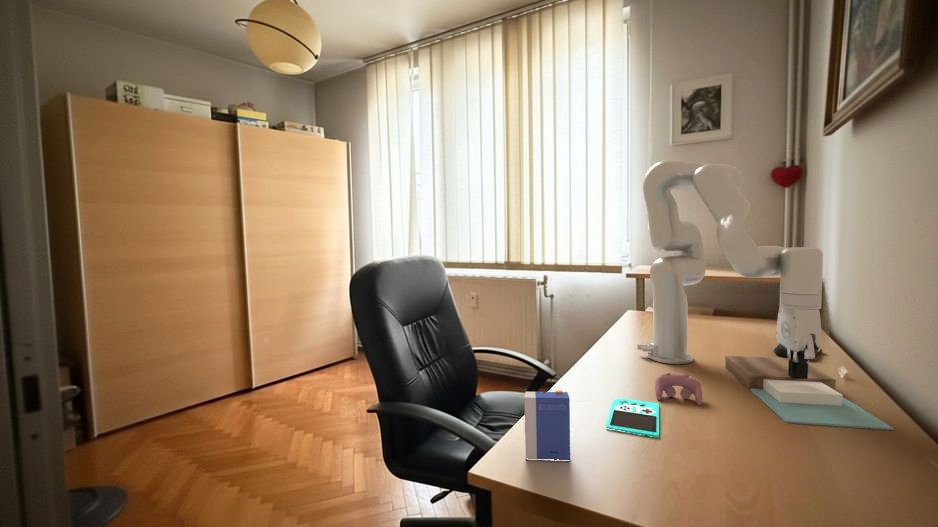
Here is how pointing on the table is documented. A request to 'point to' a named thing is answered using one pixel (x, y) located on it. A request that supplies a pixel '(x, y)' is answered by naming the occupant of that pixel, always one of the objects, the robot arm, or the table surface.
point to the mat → (822, 413)
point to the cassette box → (802, 392)
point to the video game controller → (678, 379)
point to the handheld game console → (634, 417)
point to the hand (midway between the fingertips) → (797, 377)
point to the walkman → (547, 425)
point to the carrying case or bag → (785, 351)
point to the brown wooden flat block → (769, 371)
